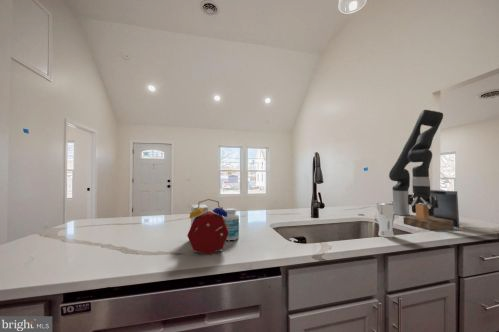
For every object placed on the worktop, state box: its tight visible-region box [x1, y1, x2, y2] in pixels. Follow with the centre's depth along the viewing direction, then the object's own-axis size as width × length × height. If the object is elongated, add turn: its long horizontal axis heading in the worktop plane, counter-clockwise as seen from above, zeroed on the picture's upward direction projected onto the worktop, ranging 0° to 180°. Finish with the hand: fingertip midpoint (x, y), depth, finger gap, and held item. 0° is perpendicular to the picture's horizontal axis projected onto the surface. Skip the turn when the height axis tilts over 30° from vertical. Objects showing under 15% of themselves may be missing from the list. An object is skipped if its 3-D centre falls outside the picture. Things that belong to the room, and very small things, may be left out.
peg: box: [415, 203, 429, 220], centre depth 110 cm, size 4×4×12 cm
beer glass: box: [375, 202, 395, 239], centre depth 94 cm, size 7×7×15 cm
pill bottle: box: [223, 207, 240, 242], centre depth 91 cm, size 8×7×14 cm
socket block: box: [403, 215, 455, 231], centre depth 111 cm, size 14×16×4 cm
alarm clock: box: [187, 198, 229, 255], centre depth 74 cm, size 15×9×20 cm, turn 98°
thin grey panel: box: [430, 189, 460, 229], centre depth 113 cm, size 14×8×20 cm, turn 12°
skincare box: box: [190, 203, 209, 226], centre depth 88 cm, size 8×7×16 cm
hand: (422, 214), depth 110 cm, fingers open, 8 cm apart
